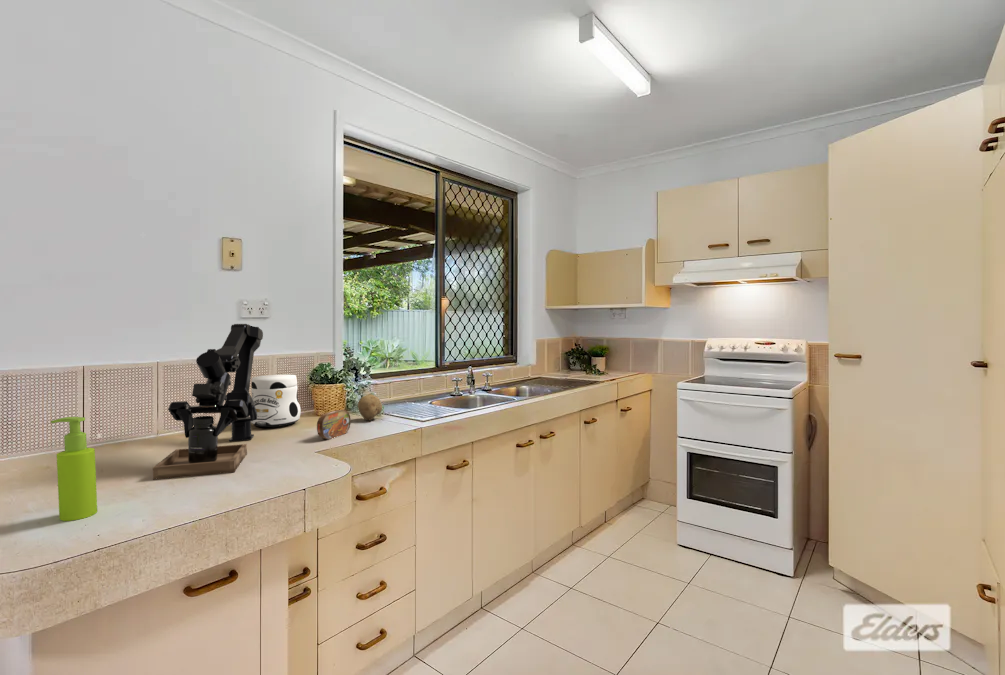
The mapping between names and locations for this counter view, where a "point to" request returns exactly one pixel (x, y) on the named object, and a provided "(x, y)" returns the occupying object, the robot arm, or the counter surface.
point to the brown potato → (369, 406)
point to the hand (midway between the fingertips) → (201, 436)
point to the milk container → (275, 400)
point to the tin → (333, 424)
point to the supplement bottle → (202, 440)
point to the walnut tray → (181, 467)
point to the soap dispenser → (76, 474)
